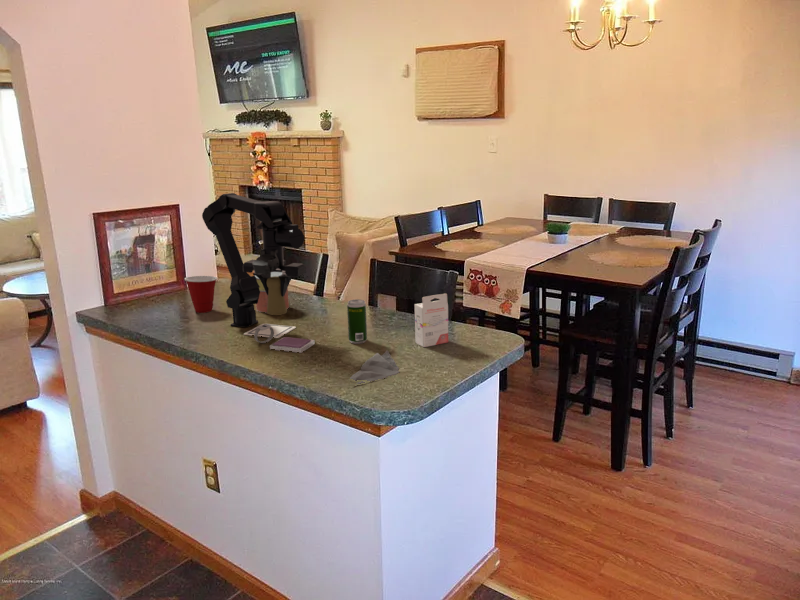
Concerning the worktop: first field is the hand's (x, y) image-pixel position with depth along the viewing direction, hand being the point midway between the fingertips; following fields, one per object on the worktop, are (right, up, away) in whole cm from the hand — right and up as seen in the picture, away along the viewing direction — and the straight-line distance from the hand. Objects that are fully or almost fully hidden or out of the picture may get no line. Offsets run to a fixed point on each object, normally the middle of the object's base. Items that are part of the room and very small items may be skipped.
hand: (275, 295), depth 190 cm
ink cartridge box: (+47, -14, -9) cm, 50 cm away
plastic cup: (-31, -5, +29) cm, 42 cm away
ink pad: (+7, -15, -10) cm, 19 cm away
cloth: (+32, -20, -28) cm, 47 cm away
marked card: (-2, -11, +4) cm, 12 cm away
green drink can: (+25, -14, -7) cm, 30 cm away
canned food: (-7, -5, +29) cm, 31 cm away
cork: (0, -5, +1) cm, 5 cm away
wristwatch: (-2, -14, -6) cm, 15 cm away
